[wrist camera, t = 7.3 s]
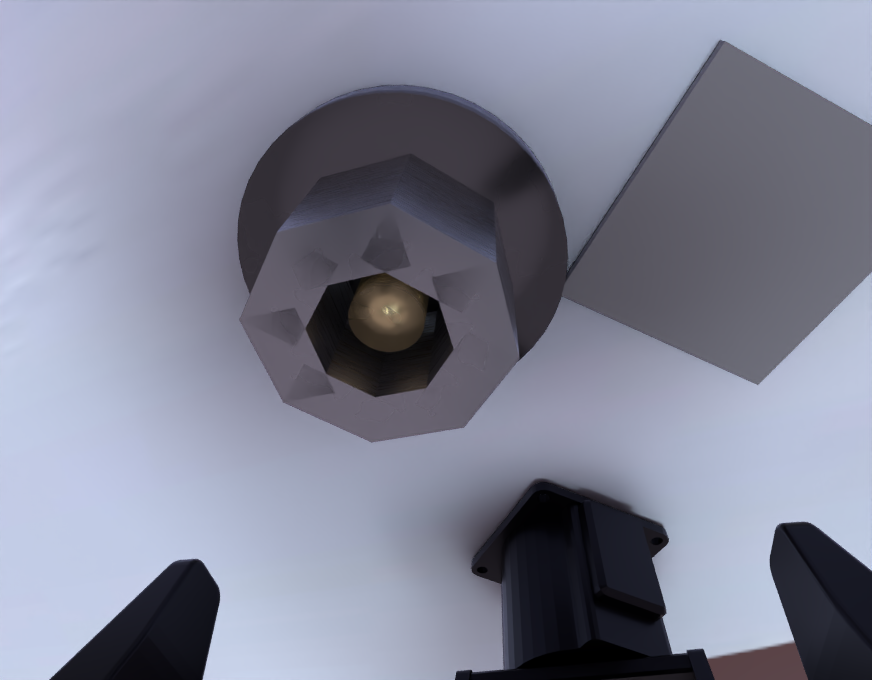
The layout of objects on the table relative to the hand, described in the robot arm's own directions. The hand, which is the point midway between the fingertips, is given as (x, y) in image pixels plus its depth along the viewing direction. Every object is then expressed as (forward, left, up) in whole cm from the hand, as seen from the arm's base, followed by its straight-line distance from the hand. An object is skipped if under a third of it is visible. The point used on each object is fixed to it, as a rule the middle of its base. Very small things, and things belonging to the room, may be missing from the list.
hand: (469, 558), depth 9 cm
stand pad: (+4, -7, -11) cm, 14 cm away
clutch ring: (-1, +2, -10) cm, 10 cm away
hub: (-1, +2, -11) cm, 11 cm away
